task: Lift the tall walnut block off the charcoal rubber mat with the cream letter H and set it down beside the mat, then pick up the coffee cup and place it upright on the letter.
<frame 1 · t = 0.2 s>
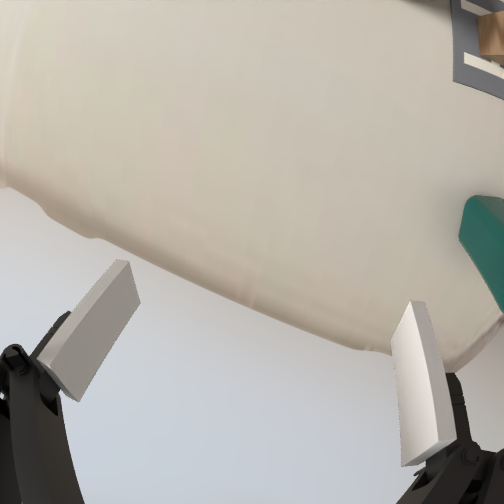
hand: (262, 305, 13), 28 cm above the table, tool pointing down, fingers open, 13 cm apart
walnut block: (495, 43, 19), resting on letter mat
letter mat: (493, 43, 19), on the table
pitcher: (484, 220, 34), on the table
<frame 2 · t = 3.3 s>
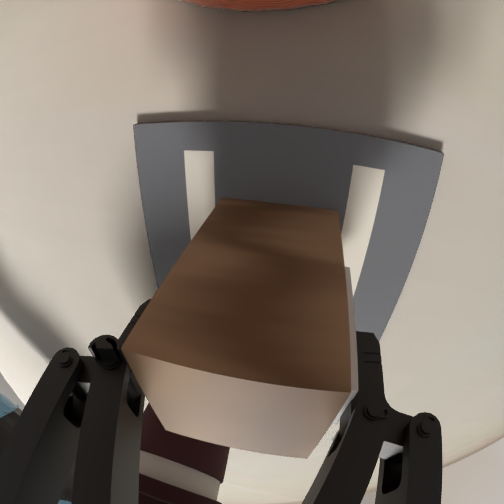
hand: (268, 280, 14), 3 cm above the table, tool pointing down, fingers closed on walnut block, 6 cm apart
walnut block: (275, 252, 16), resting on letter mat, touching gripper
coffee cup: (204, 381, 27), on the table
letter mat: (276, 248, 17), on the table
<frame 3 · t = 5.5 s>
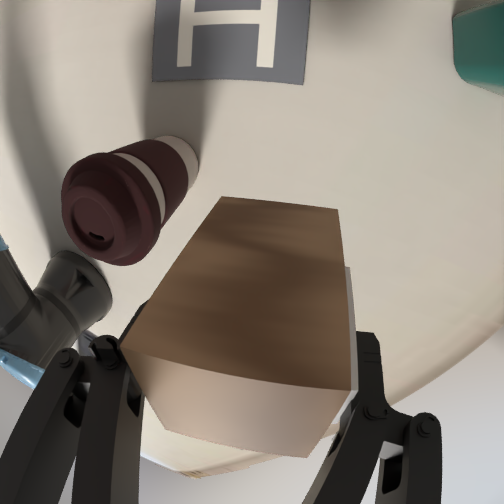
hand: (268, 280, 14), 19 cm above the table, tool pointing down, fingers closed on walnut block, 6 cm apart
walnut block: (275, 251, 16), point 16 cm above the table, touching gripper
coffee cup: (171, 163, 32), on the table
letter mat: (226, 17, 22), on the table
pitcher: (482, 48, 17), on the table
when the fingers open (4 cm above the table, at t = 7.8 s): walnut block drops 1 cm, on the table.
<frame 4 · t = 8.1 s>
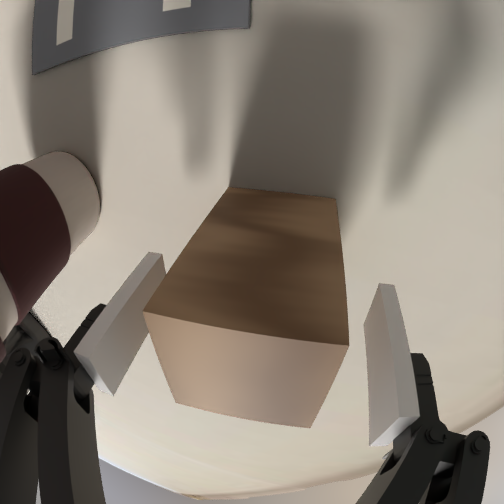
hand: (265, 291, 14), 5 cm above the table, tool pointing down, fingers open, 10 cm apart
walnut block: (278, 238, 18), on the table
coffee cup: (70, 192, 19), on the table
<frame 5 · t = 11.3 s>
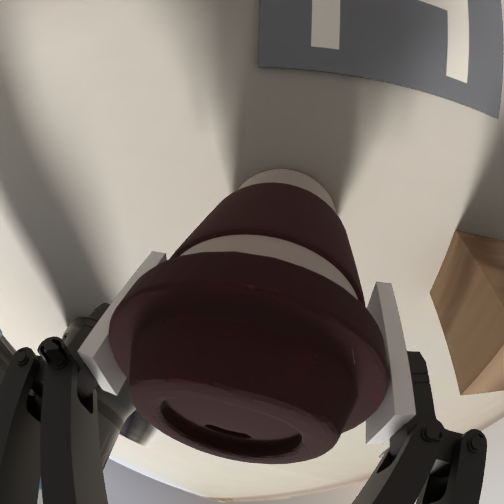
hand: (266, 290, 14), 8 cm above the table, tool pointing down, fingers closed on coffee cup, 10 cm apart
walnut block: (470, 267, 19), on the table
coffee cup: (283, 215, 20), on the table, touching gripper
when the fingers open (10 cm above the table, at t = 16.0 s): coffee cup drops 2 cm, resting on letter mat.
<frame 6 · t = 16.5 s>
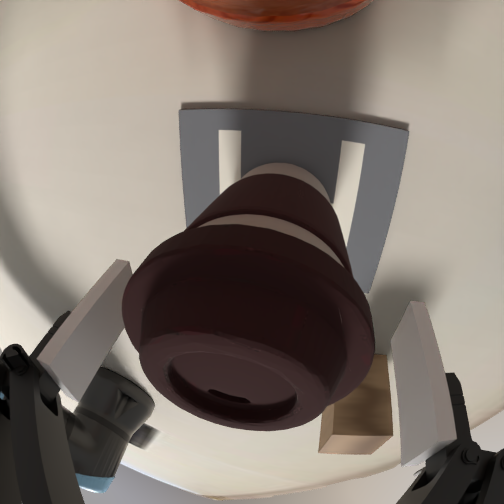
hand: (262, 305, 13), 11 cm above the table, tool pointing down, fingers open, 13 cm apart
walnut block: (354, 368, 31), on the table
coffee cup: (281, 206, 22), resting on letter mat
letter mat: (286, 205, 22), on the table
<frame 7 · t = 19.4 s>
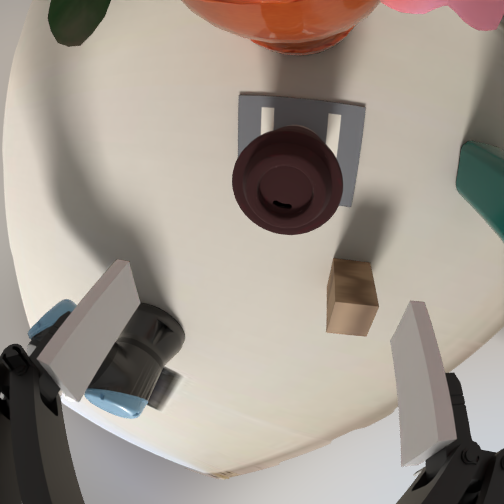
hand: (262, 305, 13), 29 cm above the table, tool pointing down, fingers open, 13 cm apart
walnut block: (348, 275, 45), on the table
coffee cup: (296, 150, 36), resting on letter mat
letter mat: (298, 150, 36), on the table
potted flower: (300, 12, 26), on the table
pitcher: (479, 165, 31), on the table
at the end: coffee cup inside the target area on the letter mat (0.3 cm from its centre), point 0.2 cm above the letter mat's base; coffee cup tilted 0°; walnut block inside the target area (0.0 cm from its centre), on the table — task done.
